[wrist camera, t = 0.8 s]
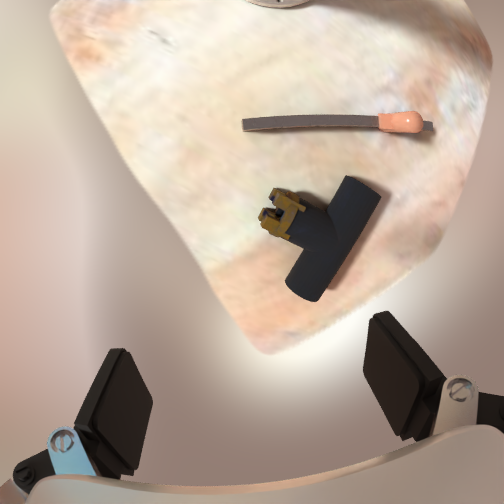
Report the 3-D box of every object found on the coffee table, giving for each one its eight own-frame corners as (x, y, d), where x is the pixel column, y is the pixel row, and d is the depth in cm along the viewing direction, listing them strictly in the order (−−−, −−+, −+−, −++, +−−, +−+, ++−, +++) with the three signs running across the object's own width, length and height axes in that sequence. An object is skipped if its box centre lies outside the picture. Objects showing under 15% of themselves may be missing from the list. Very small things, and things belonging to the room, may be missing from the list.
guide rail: (240, 116, 29) (242, 109, 23) (419, 117, 30) (451, 117, 23) (243, 136, 30) (245, 134, 24) (420, 134, 30) (452, 136, 24)
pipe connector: (239, 272, 31) (306, 147, 26) (237, 253, 36) (294, 146, 31) (323, 307, 34) (389, 201, 29) (312, 286, 38) (368, 192, 34)
